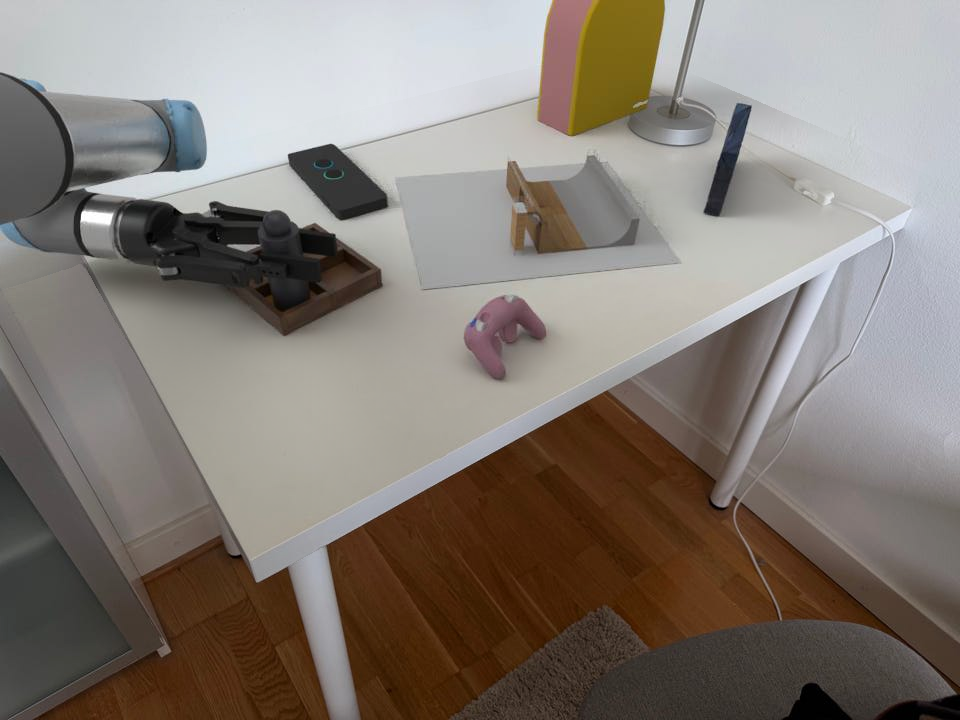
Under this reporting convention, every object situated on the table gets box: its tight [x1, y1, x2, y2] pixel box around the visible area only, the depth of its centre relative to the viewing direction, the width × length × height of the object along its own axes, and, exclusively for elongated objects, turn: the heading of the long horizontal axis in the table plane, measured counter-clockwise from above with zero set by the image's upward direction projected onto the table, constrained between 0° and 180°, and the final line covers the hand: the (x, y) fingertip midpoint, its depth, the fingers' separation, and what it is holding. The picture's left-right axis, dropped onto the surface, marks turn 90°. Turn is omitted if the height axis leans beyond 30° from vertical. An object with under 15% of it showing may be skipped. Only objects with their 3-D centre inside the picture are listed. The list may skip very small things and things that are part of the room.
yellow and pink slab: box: [536, 0, 666, 137], centre depth 118 cm, size 21×9×26 cm, turn 130°
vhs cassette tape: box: [703, 102, 753, 217], centre depth 104 cm, size 18×3×10 cm, turn 157°
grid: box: [227, 222, 383, 337], centre depth 86 cm, size 14×14×3 cm
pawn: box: [258, 209, 311, 312], centre depth 78 cm, size 4×4×12 cm
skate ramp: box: [394, 149, 682, 290], centre depth 97 cm, size 29×35×8 cm
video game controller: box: [463, 294, 547, 380], centre depth 77 cm, size 10×5×7 cm, turn 144°
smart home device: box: [287, 143, 389, 221], centre depth 105 cm, size 8×2×20 cm
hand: (327, 257), depth 77 cm, fingers closed on pawn, 4 cm apart
